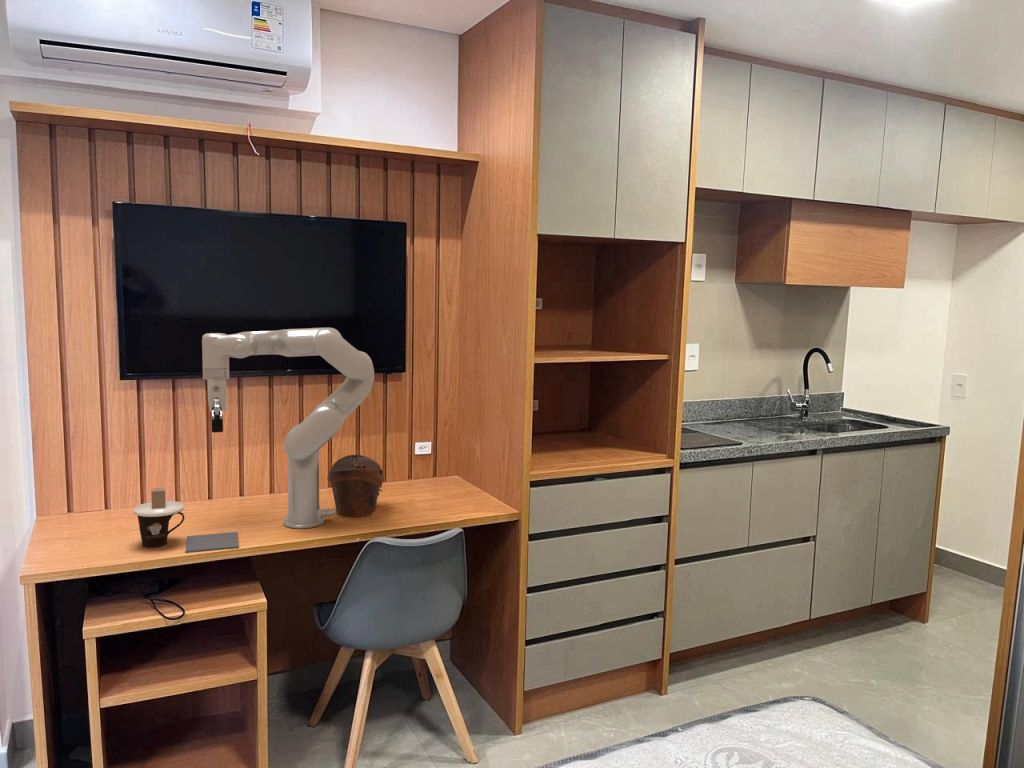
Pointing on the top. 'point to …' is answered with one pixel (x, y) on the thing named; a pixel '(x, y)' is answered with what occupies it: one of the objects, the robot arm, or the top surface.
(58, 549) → the top surface
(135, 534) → the top surface
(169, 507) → the lid
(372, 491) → the brown tapered piece
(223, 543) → the mat
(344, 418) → the robot arm
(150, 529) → the coffee mug
